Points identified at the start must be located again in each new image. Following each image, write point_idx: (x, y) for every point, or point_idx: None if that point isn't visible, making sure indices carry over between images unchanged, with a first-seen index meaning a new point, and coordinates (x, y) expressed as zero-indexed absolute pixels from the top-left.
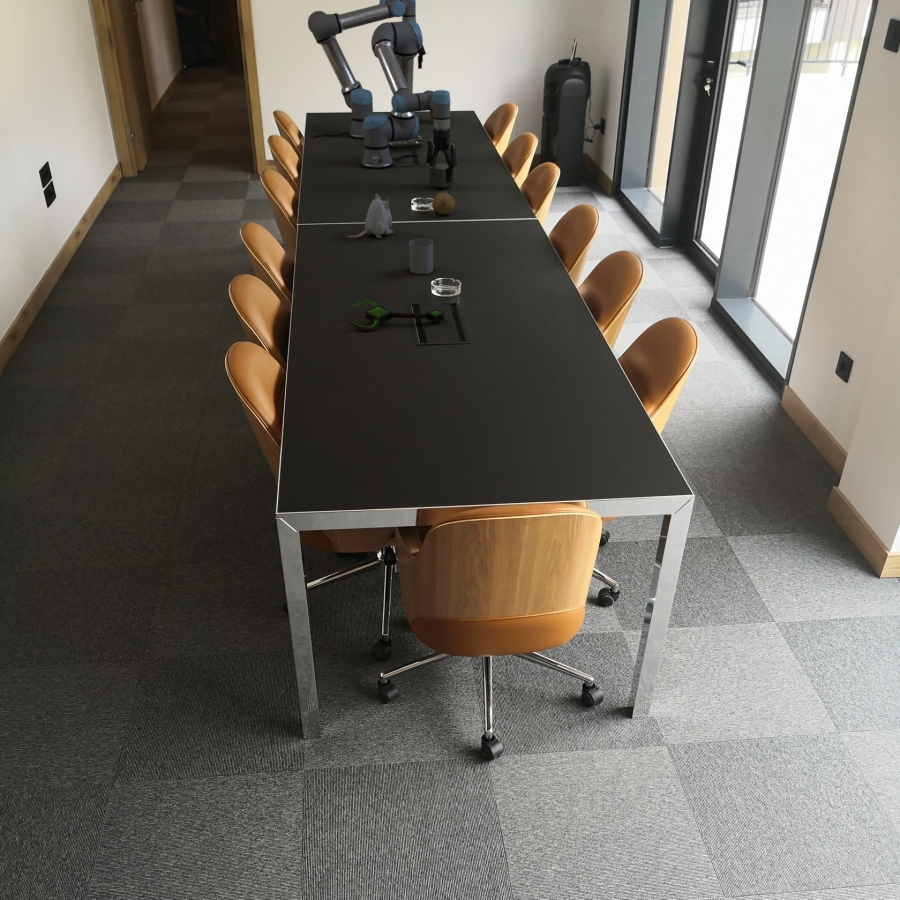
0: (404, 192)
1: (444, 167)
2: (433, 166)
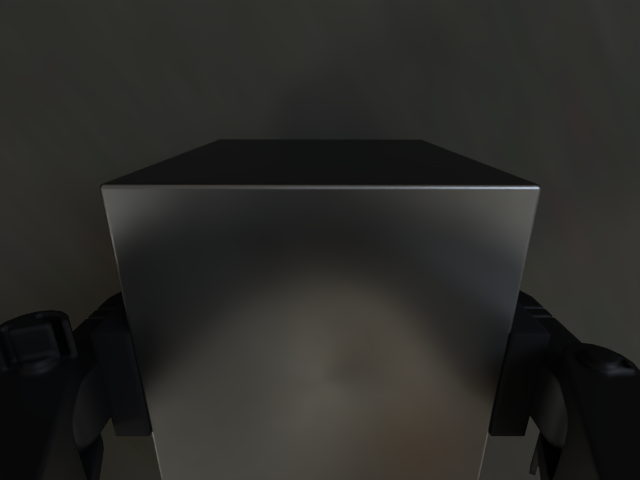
0: (158, 474)
1: (413, 414)
2: (192, 459)
